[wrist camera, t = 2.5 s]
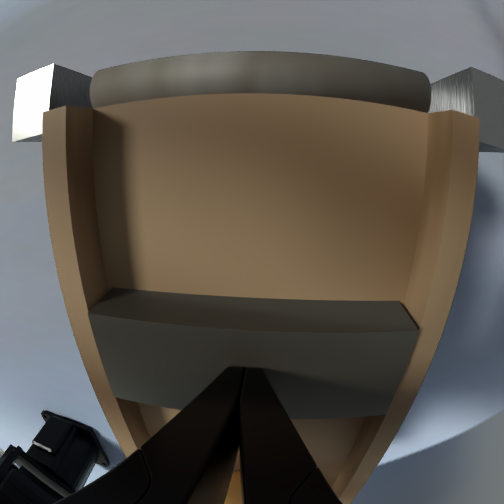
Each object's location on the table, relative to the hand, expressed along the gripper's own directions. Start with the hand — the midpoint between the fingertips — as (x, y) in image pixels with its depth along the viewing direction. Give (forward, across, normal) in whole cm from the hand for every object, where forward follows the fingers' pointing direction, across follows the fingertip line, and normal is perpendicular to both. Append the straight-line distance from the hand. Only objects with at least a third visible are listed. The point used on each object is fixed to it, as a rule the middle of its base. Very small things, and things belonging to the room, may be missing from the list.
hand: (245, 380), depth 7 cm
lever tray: (+3, 0, +2) cm, 3 cm away
